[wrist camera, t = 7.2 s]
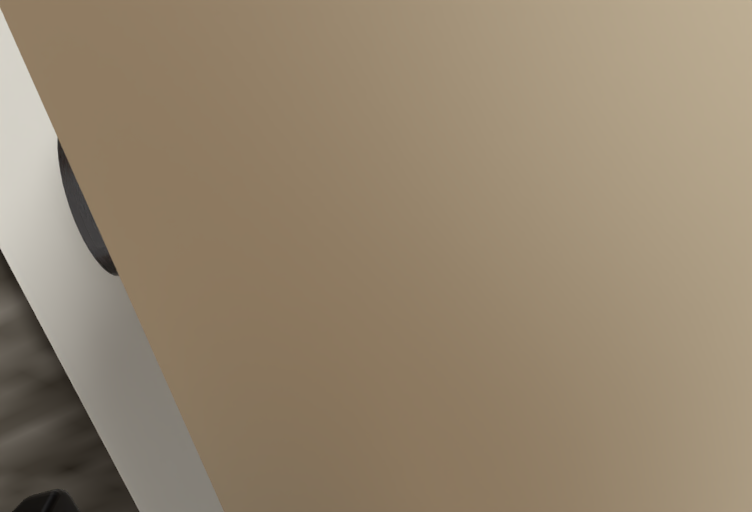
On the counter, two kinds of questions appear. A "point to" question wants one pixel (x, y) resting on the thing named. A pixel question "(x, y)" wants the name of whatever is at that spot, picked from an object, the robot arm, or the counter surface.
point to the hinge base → (88, 310)
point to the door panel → (425, 240)
